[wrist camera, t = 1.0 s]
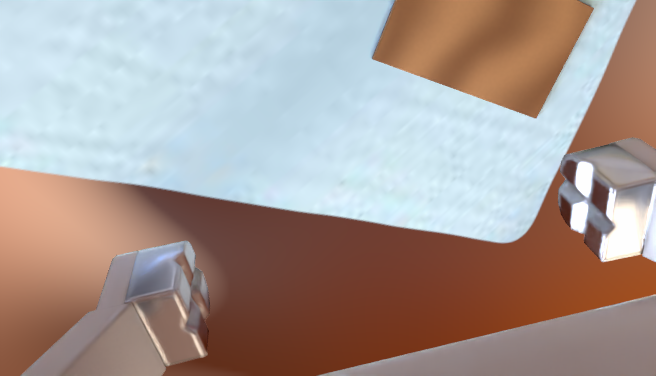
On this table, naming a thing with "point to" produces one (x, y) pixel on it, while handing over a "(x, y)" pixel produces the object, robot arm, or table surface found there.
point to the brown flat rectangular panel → (485, 45)
